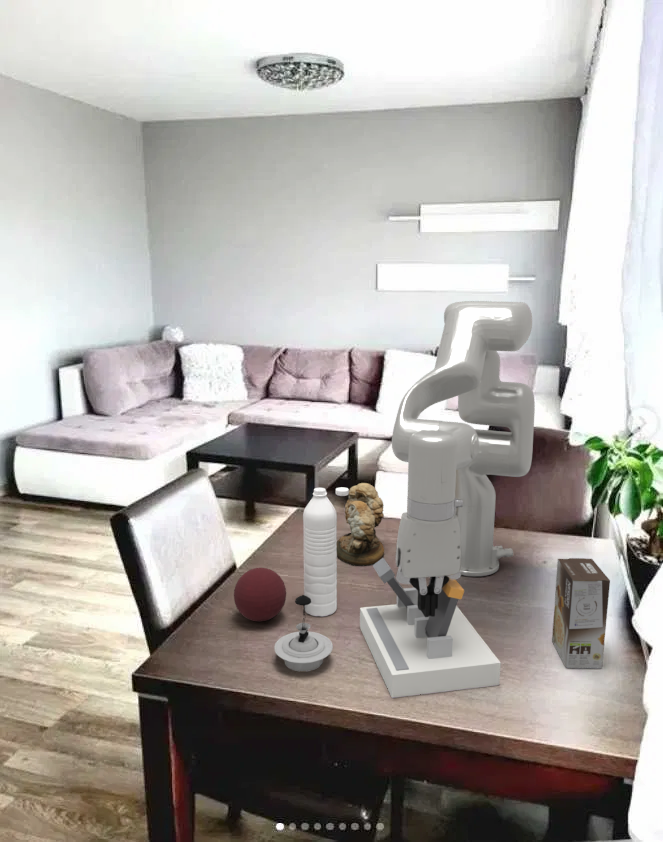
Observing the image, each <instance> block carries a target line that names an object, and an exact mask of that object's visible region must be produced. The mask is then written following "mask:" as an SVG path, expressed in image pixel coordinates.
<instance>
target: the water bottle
mask: <svg viewBox="0 0 663 842" xmlns="http://www.w3.org/2000/svg"><path fill="white" fill-rule="evenodd" d="M349 491H350V488H348V487H342V486H341V487H336V488H335V495H337V496H340V497H345V496H349ZM327 494H328V492H327V490H326V488H325V487H315V488H314V489H313V493H312V495H313V496H312V497H311V499H310V501H309V502H308V503H307V504H306V506H305V507H304V510H303V512H302V513H303V515H302V521H303V527H302V528H303V595H304V596H307V597H309V598H310V599H311V603H310V604H308V605H304V609H305V610H304V612H305V614H308V615H310V616H311V617H328V616H331V615H333V614H334V613H335V612H336V611H337V608H338V607H337V606H338V600H337V594H338V593H337V592H338V591H337V590H338V589H337V585H338V584H337V583H338V582H337V579H338V578H337V577H338V573H337V567H338V566H337V565H338V564H337V562H338V561H337V559H338V557H337V550H336V548H337V545H336V544H337V541H338V540H337V538H338V537H337V534H338V533H337V532H338V531H337V530H338V529H337V527H338V526H337V525H338V523H337V521H338V517H337V516H338V514H337V510H336V508H335V506H334V505H333V503H332V502H331V500H329V498H328V496H327Z"/></svg>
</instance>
